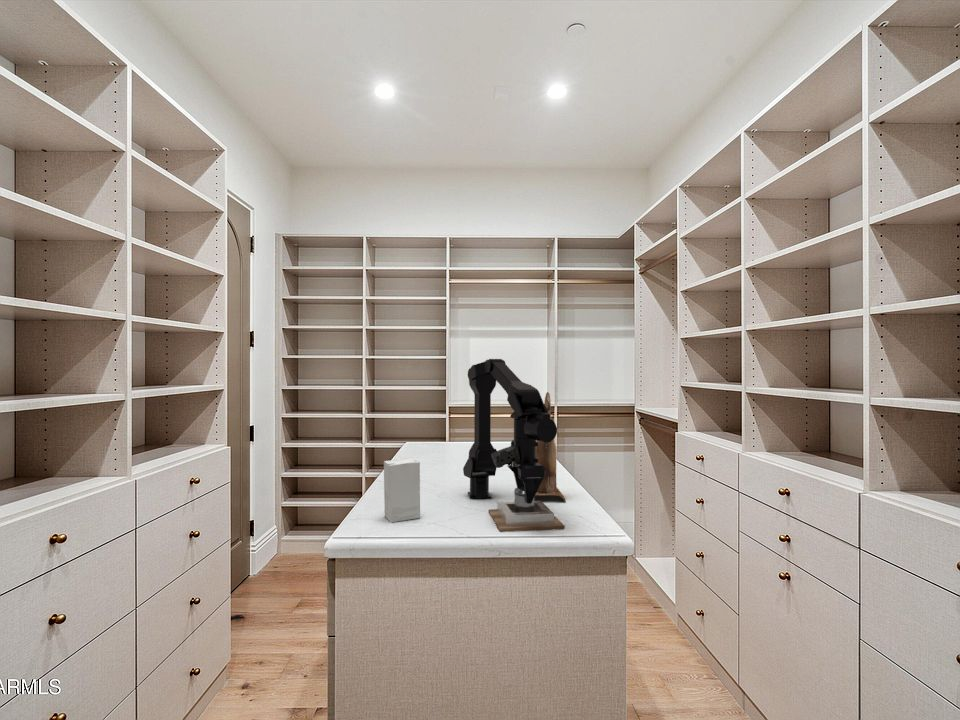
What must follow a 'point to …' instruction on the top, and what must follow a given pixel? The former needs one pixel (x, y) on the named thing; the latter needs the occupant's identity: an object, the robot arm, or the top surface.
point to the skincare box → (402, 489)
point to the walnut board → (503, 527)
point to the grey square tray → (525, 514)
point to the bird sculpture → (548, 461)
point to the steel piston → (522, 501)
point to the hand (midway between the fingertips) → (524, 498)
